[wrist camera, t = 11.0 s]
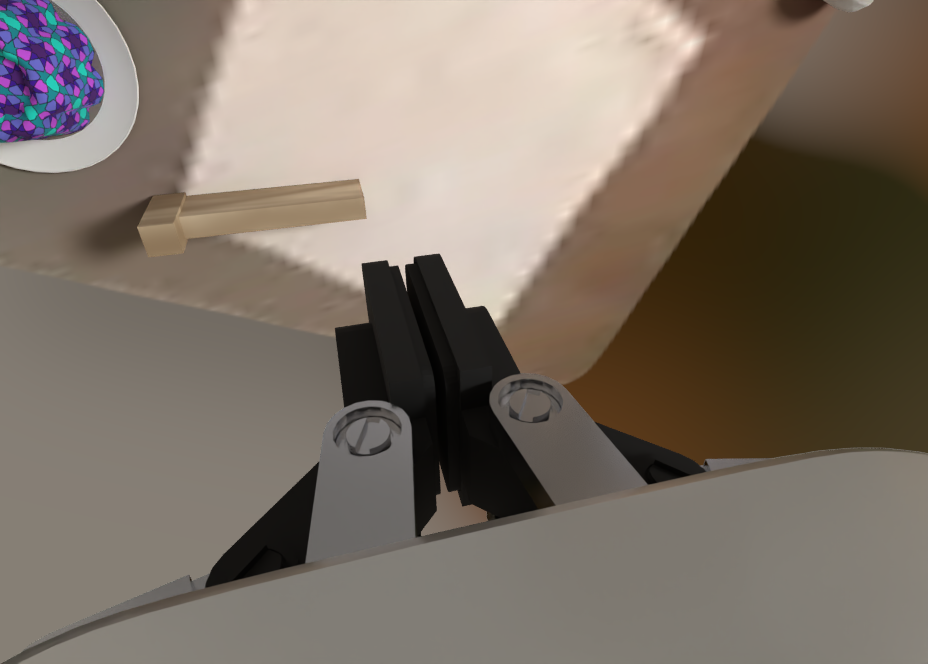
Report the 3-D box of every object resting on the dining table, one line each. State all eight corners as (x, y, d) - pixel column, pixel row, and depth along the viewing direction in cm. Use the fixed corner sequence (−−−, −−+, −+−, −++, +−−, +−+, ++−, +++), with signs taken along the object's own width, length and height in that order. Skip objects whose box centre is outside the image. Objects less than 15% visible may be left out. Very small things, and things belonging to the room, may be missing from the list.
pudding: (168, 23, 32) (151, 36, 28) (110, 200, 37) (87, 234, 33) (-104, -126, 26) (-177, -137, 22) (-133, 106, 31) (-198, 133, 27)
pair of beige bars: (39, -127, 27) (-2, -136, 23) (321, -125, 30) (326, -133, 26) (162, 223, 38) (148, 257, 34) (361, 202, 41) (369, 231, 37)
